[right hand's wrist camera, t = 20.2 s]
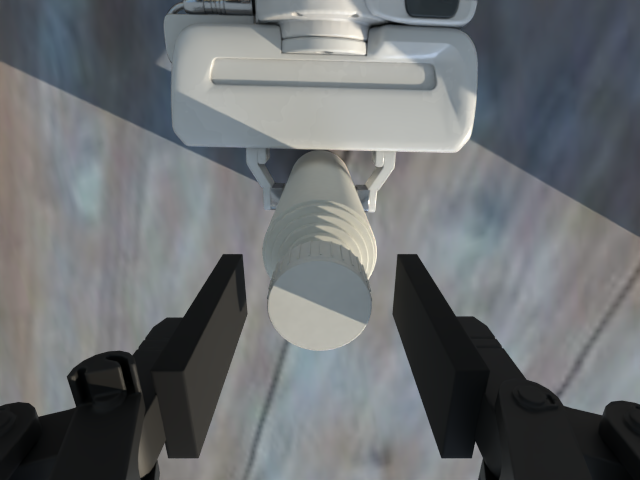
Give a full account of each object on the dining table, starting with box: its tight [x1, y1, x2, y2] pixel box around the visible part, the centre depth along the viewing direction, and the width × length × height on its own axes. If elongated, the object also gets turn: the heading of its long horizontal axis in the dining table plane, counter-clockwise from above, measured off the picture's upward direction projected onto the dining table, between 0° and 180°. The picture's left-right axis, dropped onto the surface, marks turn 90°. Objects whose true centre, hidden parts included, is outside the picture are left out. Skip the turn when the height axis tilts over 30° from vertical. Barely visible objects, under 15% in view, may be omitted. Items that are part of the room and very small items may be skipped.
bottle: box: [263, 150, 377, 279], centre depth 24 cm, size 6×6×22 cm
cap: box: [267, 240, 372, 351], centre depth 14 cm, size 4×4×2 cm
